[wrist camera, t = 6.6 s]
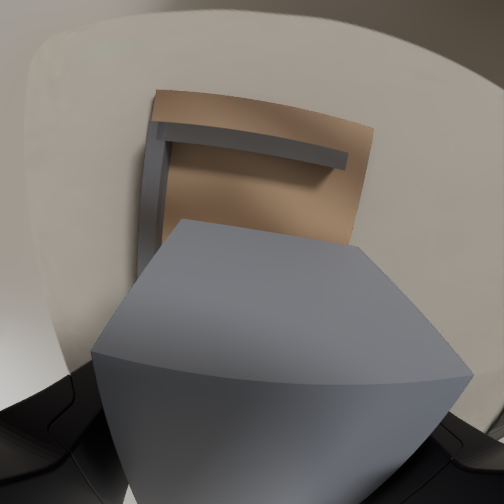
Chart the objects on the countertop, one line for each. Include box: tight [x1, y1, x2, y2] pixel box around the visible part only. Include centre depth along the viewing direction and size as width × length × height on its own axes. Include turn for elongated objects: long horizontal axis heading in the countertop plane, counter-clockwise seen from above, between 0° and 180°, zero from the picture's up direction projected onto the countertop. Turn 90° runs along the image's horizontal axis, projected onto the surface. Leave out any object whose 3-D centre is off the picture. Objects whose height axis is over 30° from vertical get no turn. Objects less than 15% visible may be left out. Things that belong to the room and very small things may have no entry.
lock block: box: [91, 219, 474, 504], centre depth 6 cm, size 6×5×6 cm
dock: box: [137, 90, 374, 279], centre depth 17 cm, size 16×13×2 cm
